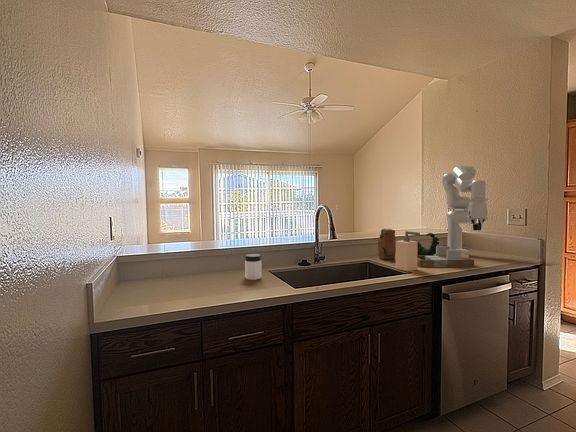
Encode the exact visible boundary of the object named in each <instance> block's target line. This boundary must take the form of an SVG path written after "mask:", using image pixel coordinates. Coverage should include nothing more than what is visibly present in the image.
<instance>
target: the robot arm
mask: <svg viewBox="0 0 576 432" xmlns="http://www.w3.org/2000/svg"><path fill="white" fill-rule="evenodd" d="M476 174H477V170H476V168H475V167H474V166H473V165H458V166H456V167H454V168H453V169H452V171H451V172H448V173H444V174H443V175H442V179H441V180H442V181H441V182H442V187H443V189H444V192H445V195H446V204H447V207H448V209H450V210H449V211H448V212H447V213H446V220H447V245H446V246H450V250H457V249H463V228H462V227H461V225H462V224H465V225H466V224H472V230H473V231H482V225H483V224H484V222H485V221H488V206H487V202H486V201H487V200H488V198H486V187H487V184H486V180H483V179H480V180H479V179H475V180H473V179H474V178H475V177H476ZM460 193H470V197H469V196H460ZM460 224H461V225H460Z"/></svg>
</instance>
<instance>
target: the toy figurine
mask: <svg viewBox="0 0 576 432" xmlns="http://www.w3.org/2000/svg"><path fill="white" fill-rule="evenodd" d="M425 236H426V237H428V236H429V237H430V238H432V239H431V240H432V241H431V242H430V243H431V245H430V246H429V247H430V248H425V247H424V246H422V244H421V243H420V241H417V240H416V241H417V242H418V245H417V256H435V255H436V246H438V245H439V244H440V242H439V241H440V238H438V237H436V236H435V234H434V233H432V232H428V233H427V234H426V235H425Z"/></svg>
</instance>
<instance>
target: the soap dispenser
mask: <svg viewBox="0 0 576 432" xmlns="http://www.w3.org/2000/svg"><path fill="white" fill-rule="evenodd" d="M404 233H405V235H404V236H403V237H402V238H403V239H402V240H396V245H395V247H396V252H395V266H394V267H395V269H396V270H402V271H405V272H410V271H411V272H412V271H416V270H418V266H417V245H418V242H419V241H418V242H417V240H411V237H410V236H409V235H412V236H421V232H417V231H416V232H415V231H408V230H407V231H406V230H405V232H404Z"/></svg>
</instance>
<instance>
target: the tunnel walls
mask: <svg viewBox="0 0 576 432" xmlns="http://www.w3.org/2000/svg"><path fill="white" fill-rule="evenodd" d="M435 255H436V256H446V260H461V250H450V246H447V245H446V246H445V245H439V246H438V245H437V246H436V254H435Z"/></svg>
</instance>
